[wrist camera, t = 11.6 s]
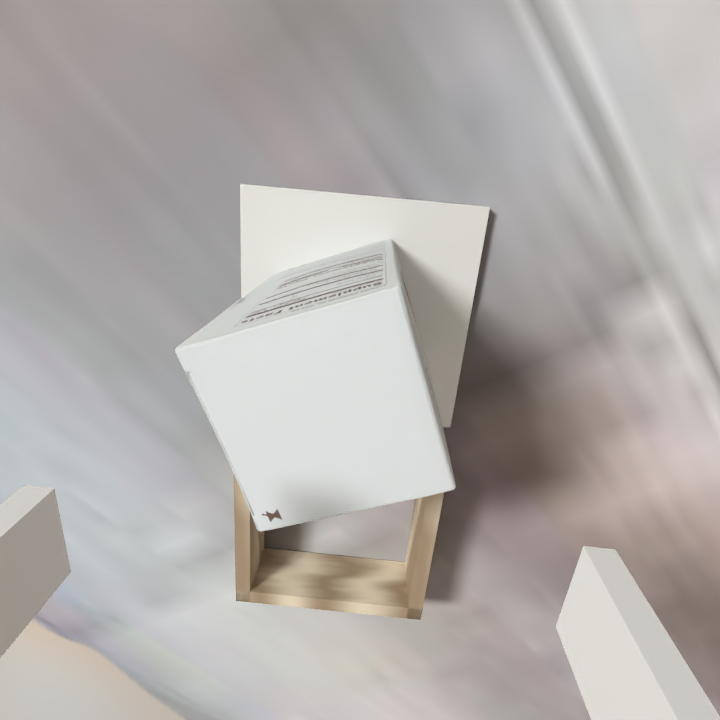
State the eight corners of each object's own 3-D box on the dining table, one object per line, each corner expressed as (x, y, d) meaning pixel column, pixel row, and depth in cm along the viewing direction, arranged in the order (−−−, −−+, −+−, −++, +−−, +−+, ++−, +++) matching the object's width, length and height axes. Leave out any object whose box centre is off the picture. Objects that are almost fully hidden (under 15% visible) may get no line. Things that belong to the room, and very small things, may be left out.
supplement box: (426, 357, 34) (464, 499, 19) (313, 387, 36) (258, 543, 20) (392, 233, 31) (404, 278, 16) (269, 271, 33) (165, 348, 17)
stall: (439, 440, 38) (447, 475, 33) (416, 573, 43) (420, 619, 38) (251, 421, 38) (233, 454, 33) (251, 556, 43) (236, 600, 39)
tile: (487, 206, 31) (490, 207, 30) (449, 422, 37) (450, 427, 36) (243, 184, 31) (240, 184, 31) (245, 402, 37) (242, 407, 37)
